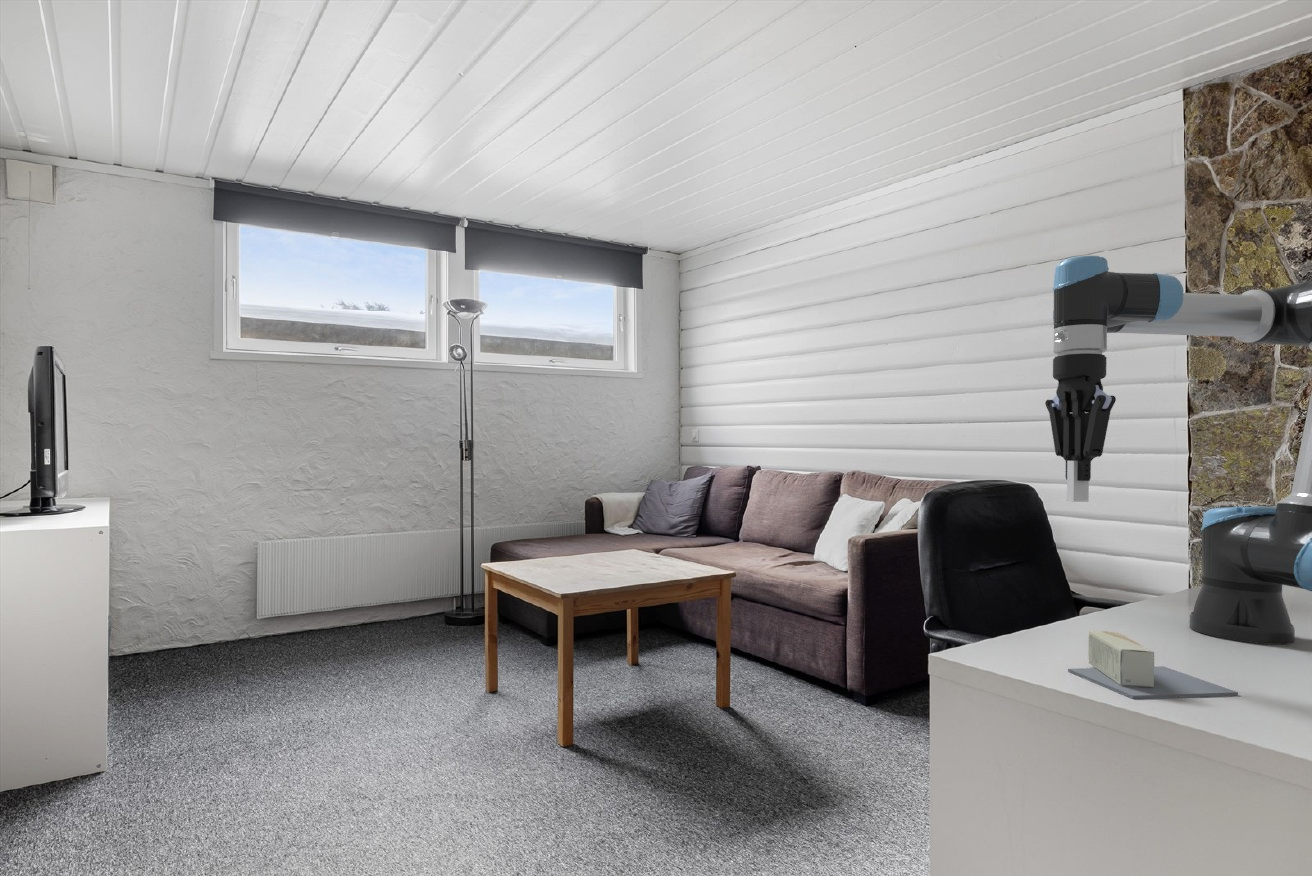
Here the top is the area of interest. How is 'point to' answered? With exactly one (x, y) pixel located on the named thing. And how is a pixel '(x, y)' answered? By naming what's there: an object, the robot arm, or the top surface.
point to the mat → (1158, 684)
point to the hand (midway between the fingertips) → (1077, 501)
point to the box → (1121, 659)
